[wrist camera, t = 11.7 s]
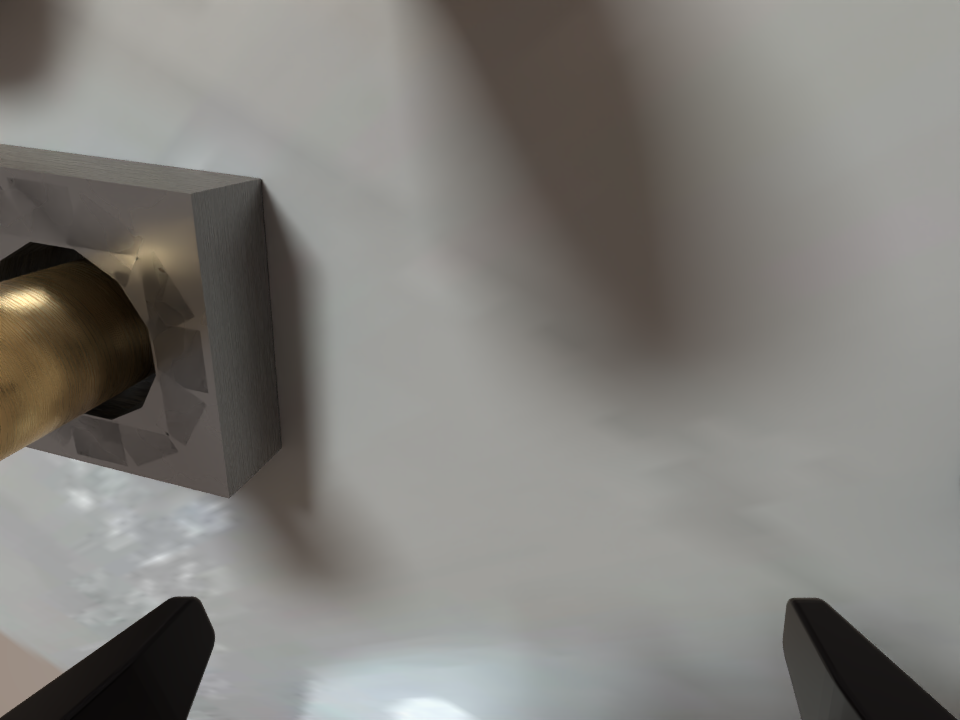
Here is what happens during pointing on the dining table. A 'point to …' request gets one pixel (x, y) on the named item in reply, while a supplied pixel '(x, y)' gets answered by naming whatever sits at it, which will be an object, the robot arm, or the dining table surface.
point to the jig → (160, 308)
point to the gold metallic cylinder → (64, 349)
